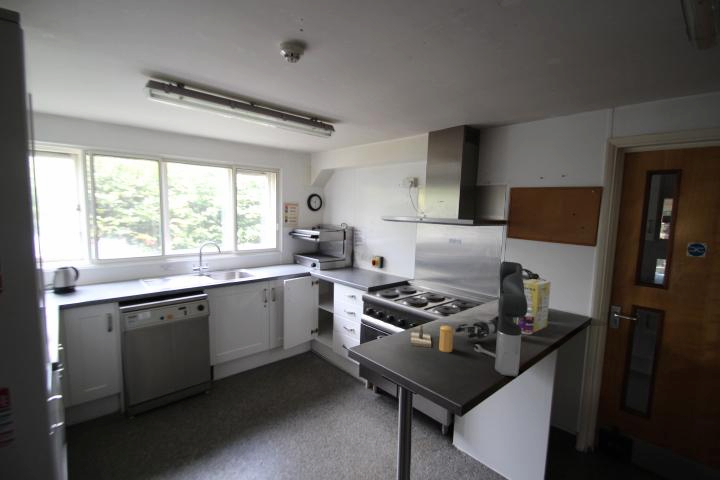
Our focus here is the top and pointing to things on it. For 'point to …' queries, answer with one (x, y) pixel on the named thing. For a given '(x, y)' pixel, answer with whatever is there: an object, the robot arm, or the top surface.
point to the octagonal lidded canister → (446, 339)
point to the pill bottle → (527, 322)
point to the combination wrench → (484, 351)
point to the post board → (420, 338)
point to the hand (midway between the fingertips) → (462, 333)
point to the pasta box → (537, 301)
